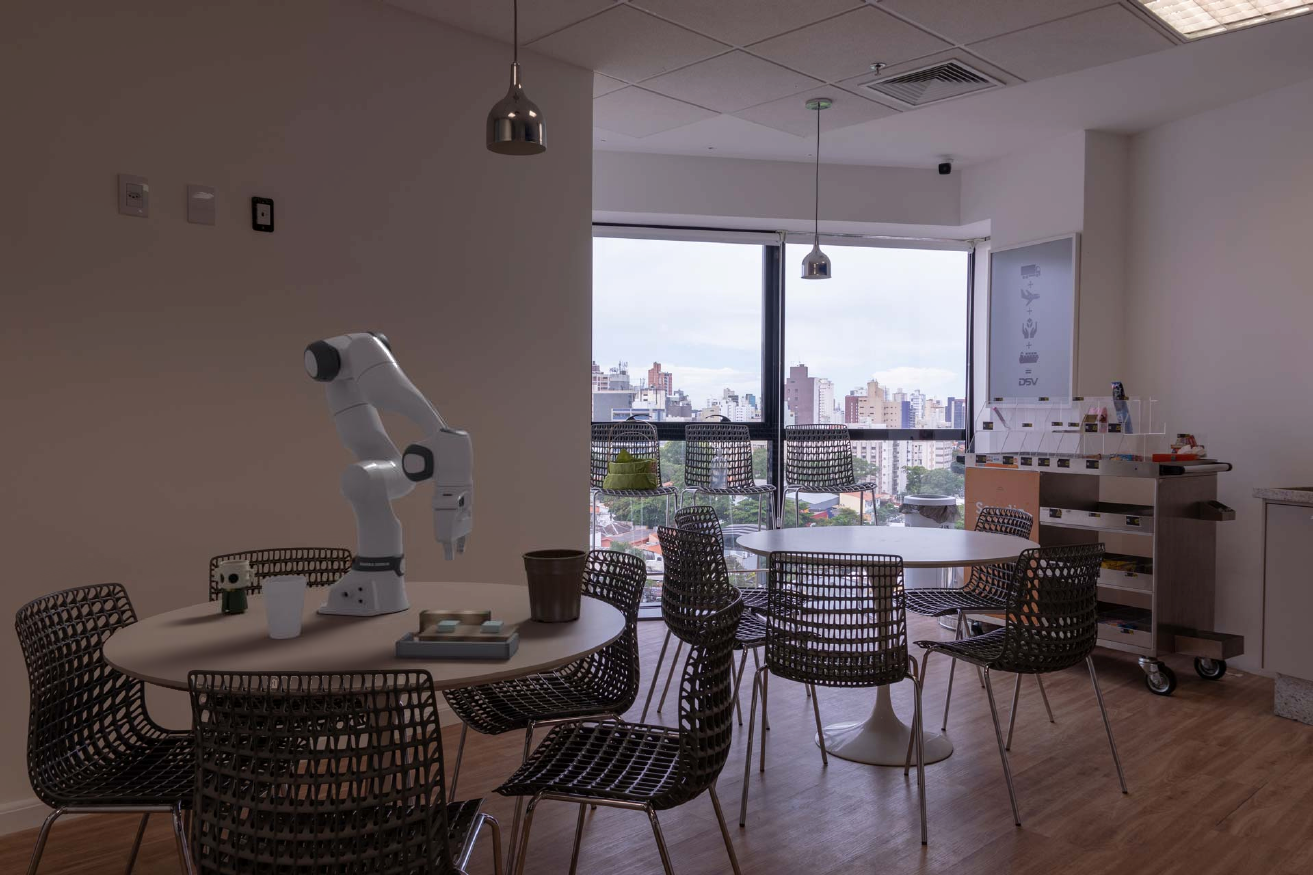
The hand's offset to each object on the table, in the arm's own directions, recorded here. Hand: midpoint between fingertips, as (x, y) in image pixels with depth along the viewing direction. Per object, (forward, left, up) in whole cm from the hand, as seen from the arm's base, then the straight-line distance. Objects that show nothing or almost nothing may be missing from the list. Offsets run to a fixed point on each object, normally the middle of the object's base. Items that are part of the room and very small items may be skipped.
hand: (455, 556), depth 216 cm
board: (+6, -10, -17) cm, 21 cm away
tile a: (+1, -9, -15) cm, 17 cm away
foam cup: (-38, -6, -18) cm, 42 cm away
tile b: (+11, -9, -15) cm, 21 cm away
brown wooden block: (0, 0, -18) cm, 18 cm away
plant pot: (+21, +15, -18) cm, 31 cm away
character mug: (-62, +17, -18) cm, 67 cm away
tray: (+6, -19, -17) cm, 27 cm away
